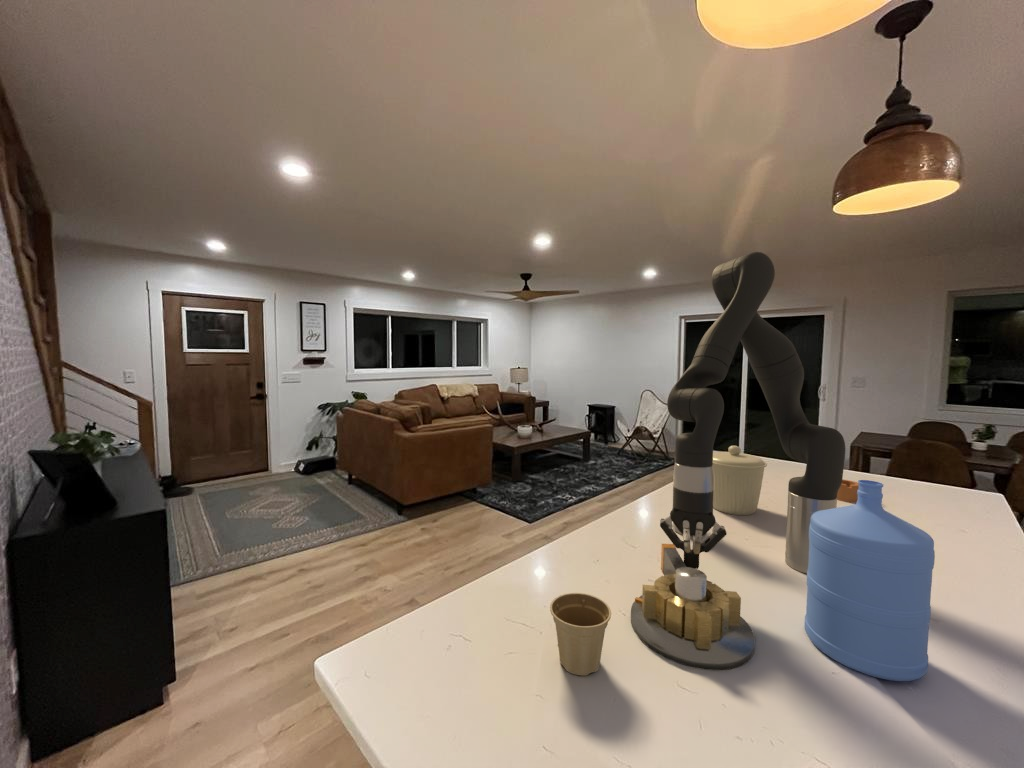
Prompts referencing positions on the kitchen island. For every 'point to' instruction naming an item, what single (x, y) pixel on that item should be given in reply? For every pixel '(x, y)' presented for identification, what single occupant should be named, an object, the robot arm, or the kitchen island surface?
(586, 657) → the flower pot
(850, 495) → the bracket
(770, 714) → the kitchen island surface
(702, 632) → the segmented ring on plate
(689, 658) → the housing
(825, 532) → the water jug
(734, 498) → the canister
